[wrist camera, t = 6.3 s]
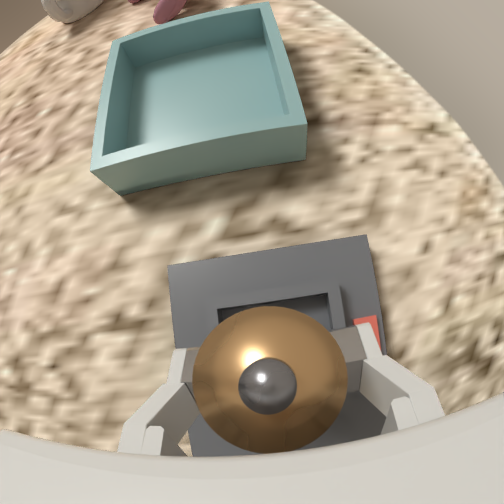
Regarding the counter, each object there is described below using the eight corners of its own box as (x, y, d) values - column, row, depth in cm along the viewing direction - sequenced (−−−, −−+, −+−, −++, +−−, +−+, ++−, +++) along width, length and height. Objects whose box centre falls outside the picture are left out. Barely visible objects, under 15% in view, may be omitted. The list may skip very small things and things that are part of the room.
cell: (290, 406, 15) (286, 486, 7) (226, 363, 16) (158, 400, 7) (334, 343, 16) (382, 361, 7) (270, 300, 17) (246, 273, 8)
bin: (305, 159, 20) (307, 123, 16) (120, 195, 21) (90, 171, 17) (272, 37, 23) (268, 1, 19) (130, 70, 24) (112, 40, 20)
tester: (386, 424, 16) (399, 439, 13) (200, 448, 17) (186, 465, 14) (360, 241, 18) (371, 227, 16) (176, 270, 19) (159, 261, 17)
